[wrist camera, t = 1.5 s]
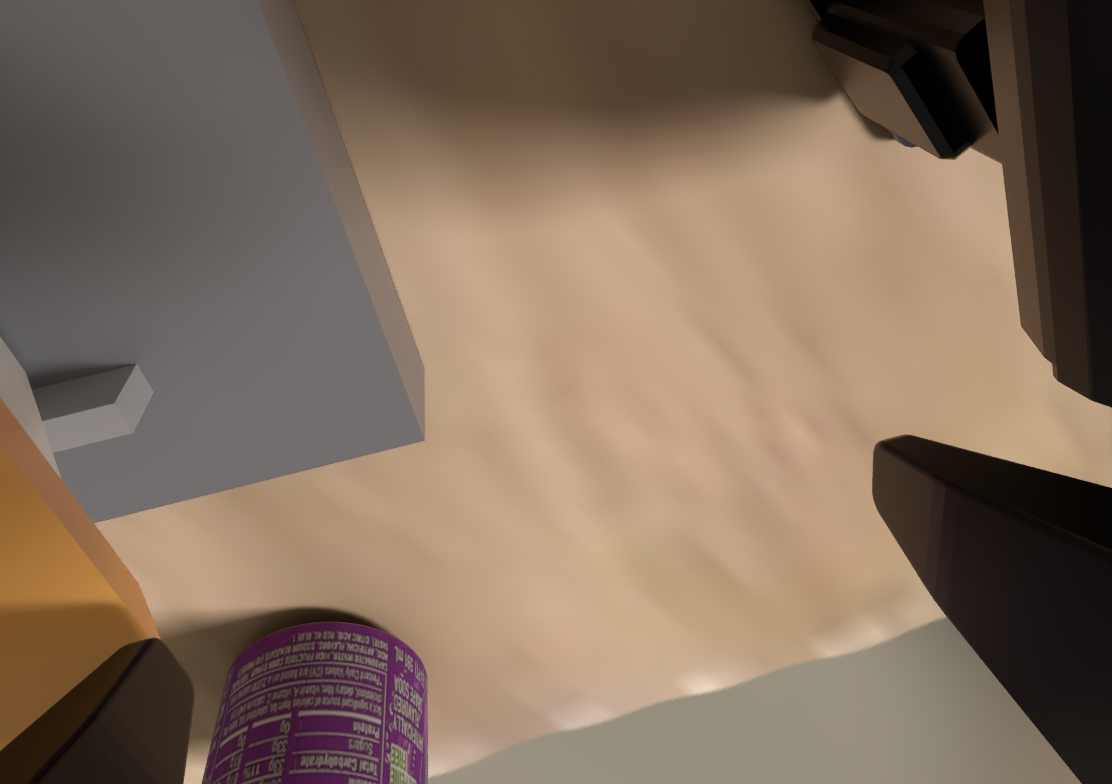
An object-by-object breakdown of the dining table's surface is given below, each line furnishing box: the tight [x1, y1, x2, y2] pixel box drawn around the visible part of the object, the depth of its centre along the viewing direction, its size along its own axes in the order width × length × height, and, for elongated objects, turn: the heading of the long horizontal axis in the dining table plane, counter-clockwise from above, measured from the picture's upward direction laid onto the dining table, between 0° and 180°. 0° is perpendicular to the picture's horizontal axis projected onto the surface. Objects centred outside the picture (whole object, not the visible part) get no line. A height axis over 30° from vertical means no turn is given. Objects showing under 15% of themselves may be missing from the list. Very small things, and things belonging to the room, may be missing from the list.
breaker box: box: [0, 0, 425, 523], centre depth 17 cm, size 14×14×5 cm
